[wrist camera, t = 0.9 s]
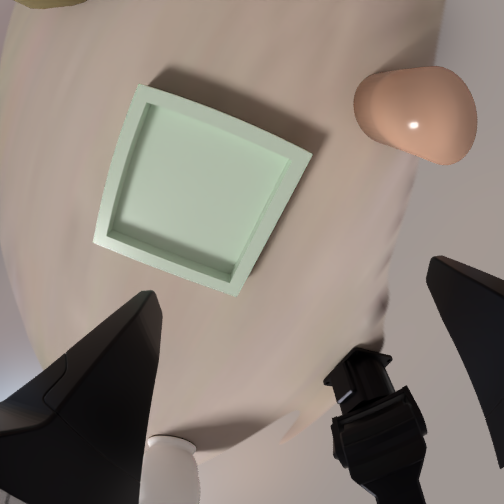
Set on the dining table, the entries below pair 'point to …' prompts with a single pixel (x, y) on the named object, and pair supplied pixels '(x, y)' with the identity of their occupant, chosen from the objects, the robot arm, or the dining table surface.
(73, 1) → the squeeze bottle
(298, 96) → the dining table surface
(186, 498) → the jar
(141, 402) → the robot arm
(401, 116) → the pink rounded cylinder
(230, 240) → the tray
